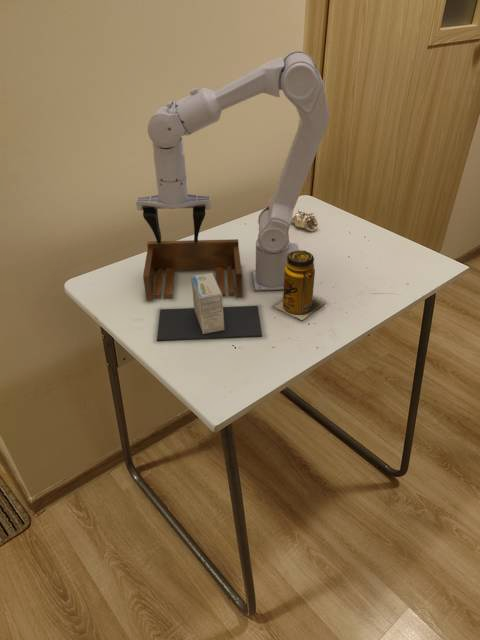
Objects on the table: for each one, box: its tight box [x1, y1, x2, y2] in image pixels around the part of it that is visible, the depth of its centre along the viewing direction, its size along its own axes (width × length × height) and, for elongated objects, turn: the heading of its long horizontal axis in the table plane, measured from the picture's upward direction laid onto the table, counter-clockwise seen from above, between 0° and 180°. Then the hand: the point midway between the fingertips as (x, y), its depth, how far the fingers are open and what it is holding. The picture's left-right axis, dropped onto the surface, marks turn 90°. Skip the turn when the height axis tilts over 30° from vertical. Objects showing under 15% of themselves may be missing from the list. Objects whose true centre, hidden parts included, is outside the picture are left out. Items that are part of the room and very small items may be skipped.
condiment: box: [274, 249, 327, 321], centre depth 101 cm, size 7×8×12 cm
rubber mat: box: [156, 305, 263, 342], centre depth 99 cm, size 20×10×1 cm, turn 96°
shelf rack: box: [142, 238, 243, 302], centre depth 108 cm, size 20×13×7 cm, turn 96°
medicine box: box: [191, 273, 224, 334], centre depth 96 cm, size 8×4×9 cm, turn 18°
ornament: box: [291, 209, 319, 232], centre depth 132 cm, size 8×7×4 cm
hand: (177, 240), depth 105 cm, fingers open, 7 cm apart
